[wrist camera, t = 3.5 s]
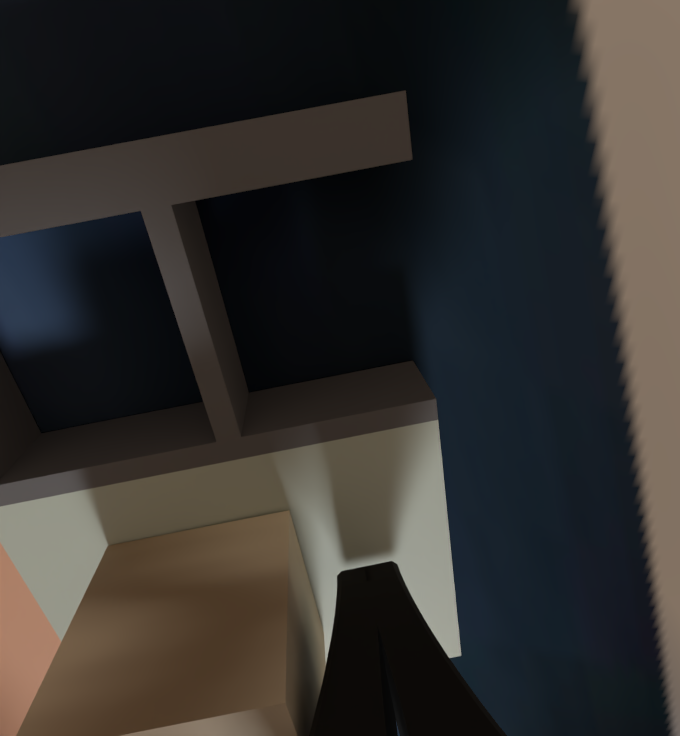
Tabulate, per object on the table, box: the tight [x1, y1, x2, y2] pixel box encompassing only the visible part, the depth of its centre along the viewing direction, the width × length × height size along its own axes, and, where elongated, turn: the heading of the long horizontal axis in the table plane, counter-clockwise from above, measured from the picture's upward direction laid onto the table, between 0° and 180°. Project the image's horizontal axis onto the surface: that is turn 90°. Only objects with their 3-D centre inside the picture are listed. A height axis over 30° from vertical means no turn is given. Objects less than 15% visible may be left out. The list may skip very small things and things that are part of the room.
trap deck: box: [0, 90, 461, 736], centre depth 11 cm, size 14×14×2 cm
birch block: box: [16, 510, 326, 736], centre depth 9 cm, size 4×4×4 cm
